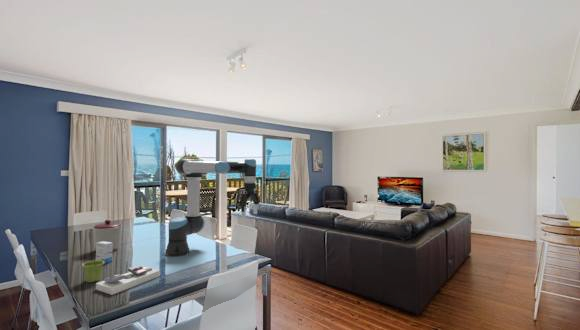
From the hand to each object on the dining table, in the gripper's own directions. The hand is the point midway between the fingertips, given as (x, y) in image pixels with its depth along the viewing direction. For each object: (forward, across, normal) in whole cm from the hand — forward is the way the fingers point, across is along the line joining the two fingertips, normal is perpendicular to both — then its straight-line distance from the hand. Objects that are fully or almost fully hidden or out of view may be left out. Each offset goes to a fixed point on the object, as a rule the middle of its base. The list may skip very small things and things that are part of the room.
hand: (249, 215), depth 185 cm
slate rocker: (+25, -68, +31) cm, 79 cm away
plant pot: (+28, -67, +50) cm, 89 cm away
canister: (+28, -31, +97) cm, 106 cm away
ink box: (+28, -47, +74) cm, 92 cm away
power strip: (+28, -60, +31) cm, 73 cm away
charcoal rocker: (+25, -56, +31) cm, 69 cm away
